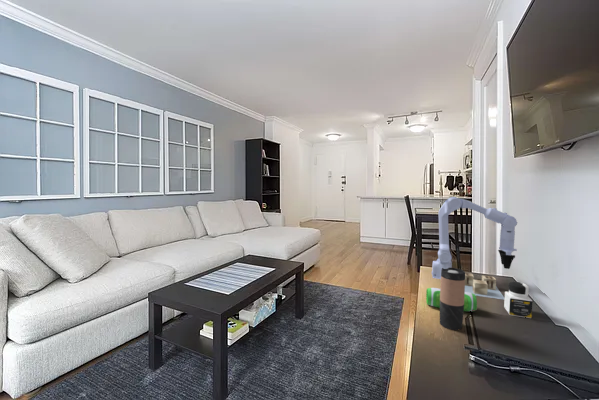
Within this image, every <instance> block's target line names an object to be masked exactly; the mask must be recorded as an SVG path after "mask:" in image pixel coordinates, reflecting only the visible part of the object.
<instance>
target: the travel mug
mask: <svg viewBox="0 0 599 400" xmlns="http://www.w3.org/2000/svg"><path fill="white" fill-rule="evenodd" d="M465 273H466V271H465V270H462V269H460V268H455V267H452V268H448V269H443V268H442V269H441V279H440V288H439V289H440V308H439V324H440V326H442V327H443V328H445V329H448V330H452V331H459V330H458V329H460V330H462V329H463V321H464V312H465V311H464V294H465ZM461 328H462V329H461Z"/></svg>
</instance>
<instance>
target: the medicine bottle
mask: <svg viewBox="0 0 599 400" xmlns="http://www.w3.org/2000/svg"><path fill="white" fill-rule="evenodd" d="M508 284H509V285H508V291H504V298H505V299H504V301H503V302H504V304H503V308H504V309H505V310H506V312H507V314H508V315H509V316H512V317H520V318H525V317H526V318H525V319H532V317H533V300H532V299H531V297H529V288H530V287H529V285H527V284H525V283H524V282H519V281H511V282H509V283H508Z"/></svg>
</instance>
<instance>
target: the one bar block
mask: <svg viewBox="0 0 599 400" xmlns="http://www.w3.org/2000/svg"><path fill="white" fill-rule="evenodd" d="M473 279H474V280H475V276H474V274H473V273H470V272H469V273H468V272H465V286H473Z"/></svg>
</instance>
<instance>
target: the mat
mask: <svg viewBox="0 0 599 400" xmlns="http://www.w3.org/2000/svg"><path fill="white" fill-rule="evenodd" d="M465 292H469V293H472V294H475V293H474V292H473V286H465ZM475 295H476V297H481V298H482V297H484V298H491V299H498V300H504V299H505V295H503V294H502V292H501V291H500V290H499V288H498V287H497V286H496V290H490V289H488V290H487V295H482V294H475Z"/></svg>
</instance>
